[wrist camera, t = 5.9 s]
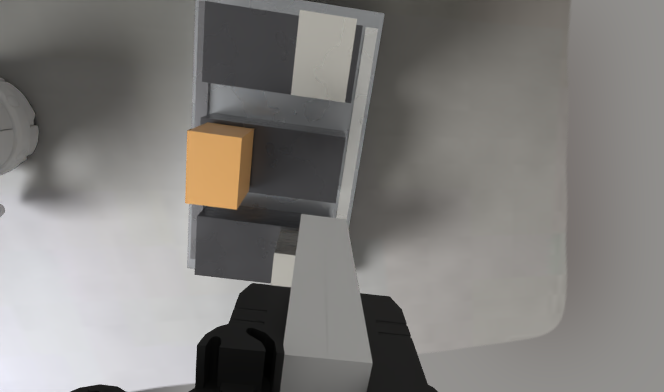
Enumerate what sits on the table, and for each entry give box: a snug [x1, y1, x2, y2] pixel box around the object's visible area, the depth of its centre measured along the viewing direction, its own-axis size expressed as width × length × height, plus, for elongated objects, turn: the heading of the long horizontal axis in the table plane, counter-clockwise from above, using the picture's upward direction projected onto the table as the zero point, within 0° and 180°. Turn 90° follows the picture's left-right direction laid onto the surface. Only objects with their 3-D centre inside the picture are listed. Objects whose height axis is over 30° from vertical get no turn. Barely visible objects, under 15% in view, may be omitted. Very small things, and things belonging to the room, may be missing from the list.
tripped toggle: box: [185, 122, 254, 210], centre depth 22 cm, size 3×4×4 cm
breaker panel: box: [187, 0, 385, 287], centre depth 25 cm, size 12×20×9 cm, turn 172°
